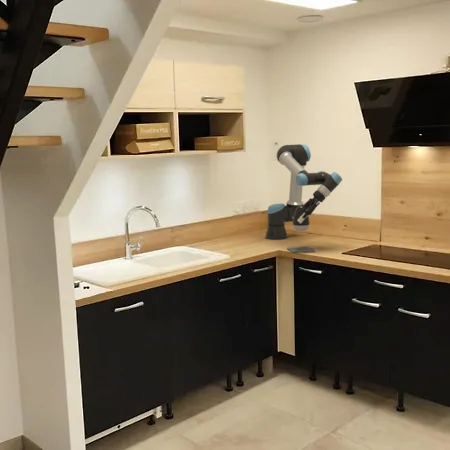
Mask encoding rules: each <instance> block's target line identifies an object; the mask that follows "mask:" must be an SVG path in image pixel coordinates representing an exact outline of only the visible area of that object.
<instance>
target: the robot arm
mask: <svg viewBox="0 0 450 450" xmlns="http://www.w3.org/2000/svg"><path fill="white" fill-rule="evenodd" d="M311 157H312V155H311V151H310V148H309V146H308V145H307V144H301V143H299V144H285V145H284V144H283V145H282V146H280V147H279V148H278V149H277V152H276V160H277V161H278V163H280V164H281V165H282V166H285V168H286V169H287V170H288V171H289V172H290V179H289V180H290V181H289V196H288V200H287V201H286V205H285V203H275V204H271V205H268V208H267V230H266V232H265V239H268V240H283V239H287V238H288V232H287V228H286V227H285V225H286V224H285V223H291V222H292V223H293V217H294V213H295V211H296V209H297V207H298V206H301V205H302V206H304V207H305V208H307V207H309V208H308V209H307V211H305V212H304V213H303V215H302V216H301V217H300V218H299V219H298V220H297V221H298V222H299V223H300V224H301V223H302V221H303V220H304V219H305V218H306V217H307V216H311V215H312V213H313V212H314V211H315V209H316V208H317V207H318V206H319V205H320V204H321V203H323V202H324V201H326V198H328V196H330V195H331V193H332V192H333V191H334V190H336V188H337V187H338V186H339V185H340V184H341V182H342V181H343V178H342V176H341V175H340V174H338V172H336V171H333V172H332V173H328V172H326V171H324V170H320V171H317V172H308V171H307V169H305V167H306V166H307V162H309V161H311ZM305 186H318V187H317V189H316V190H315V191H314V192H313V194H312V196H313V197H312V198H311V197H310V198H309V199H308V200H307V201H306V202H305V203H304V202H303V200H302V197H303V187H305Z"/></svg>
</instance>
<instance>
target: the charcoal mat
mask: <svg viewBox="0 0 450 450" xmlns="http://www.w3.org/2000/svg"><path fill="white" fill-rule="evenodd" d="M286 250H287V251H289V252H290V253H291V254H300V253H301V254H303V253H304V254H305V253H315V252H316V250H315V249H314V248H312V247H310V246H299V247H297V246H294V247H287V249H286Z"/></svg>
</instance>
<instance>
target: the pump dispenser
mask: <svg viewBox="0 0 450 450" xmlns="http://www.w3.org/2000/svg"><path fill="white" fill-rule="evenodd" d="M308 208H309V207H307V208H305V207H304V206H302V205H301V206H298V207H297V209H296V211H295V213H294V217H293V222H292V226H293V228H294V230H296V231H298V232H302V231H303V232H305V231H307V230H308V229H309V226H310V215H308V216H307V217H306V218H305V219H304V220H303V221H302V223H301V224H300V223H299V222H298V221H297V220H298V219H299V218H300V217H301V216H302V215H303V213H304V212H305V211H307V209H308Z"/></svg>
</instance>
